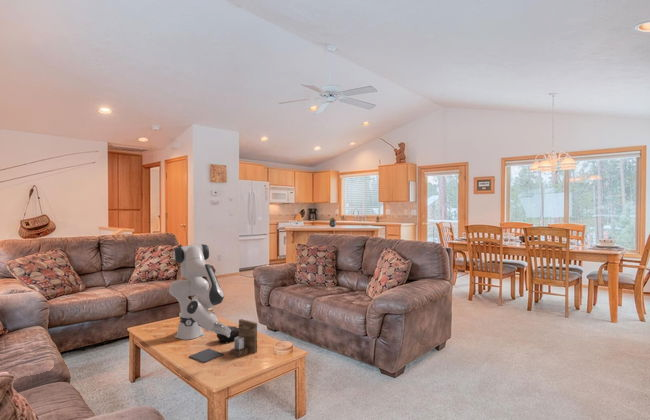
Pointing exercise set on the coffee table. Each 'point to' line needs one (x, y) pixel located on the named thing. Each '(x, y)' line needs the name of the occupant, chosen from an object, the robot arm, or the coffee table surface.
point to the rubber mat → (206, 355)
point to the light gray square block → (239, 343)
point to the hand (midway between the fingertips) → (223, 334)
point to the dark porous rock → (233, 335)
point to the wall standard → (247, 337)
